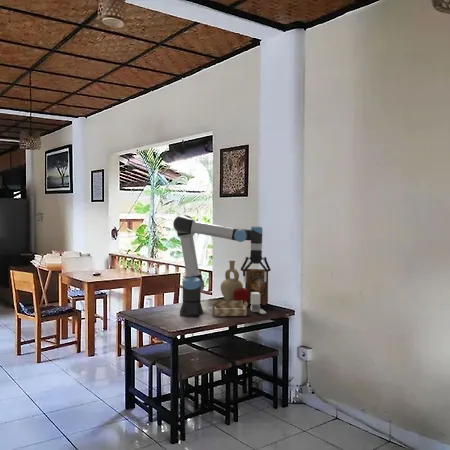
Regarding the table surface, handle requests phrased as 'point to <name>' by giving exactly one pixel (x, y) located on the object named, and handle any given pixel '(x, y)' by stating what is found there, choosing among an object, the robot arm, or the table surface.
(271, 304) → the table surface
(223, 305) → the carton
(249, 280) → the book
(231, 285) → the vase
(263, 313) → the mat
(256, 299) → the block
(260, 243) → the robot arm
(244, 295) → the apple
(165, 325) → the table surface
